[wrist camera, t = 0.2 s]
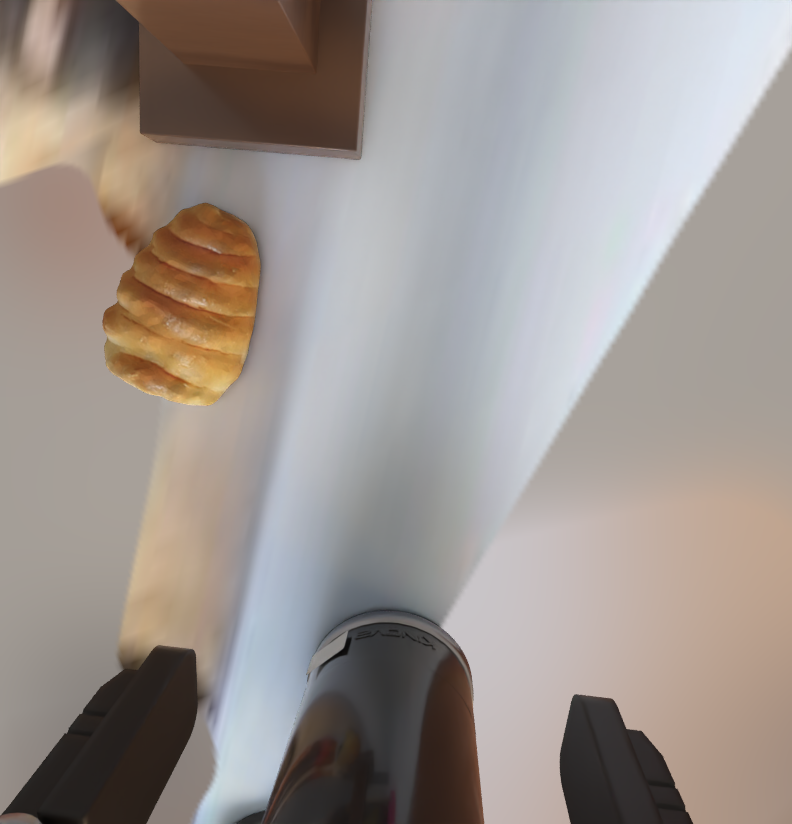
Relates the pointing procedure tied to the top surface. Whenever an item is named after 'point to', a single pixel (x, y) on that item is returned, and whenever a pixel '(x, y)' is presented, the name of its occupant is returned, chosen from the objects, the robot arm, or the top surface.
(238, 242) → the pastry
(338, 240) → the top surface
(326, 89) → the stand
